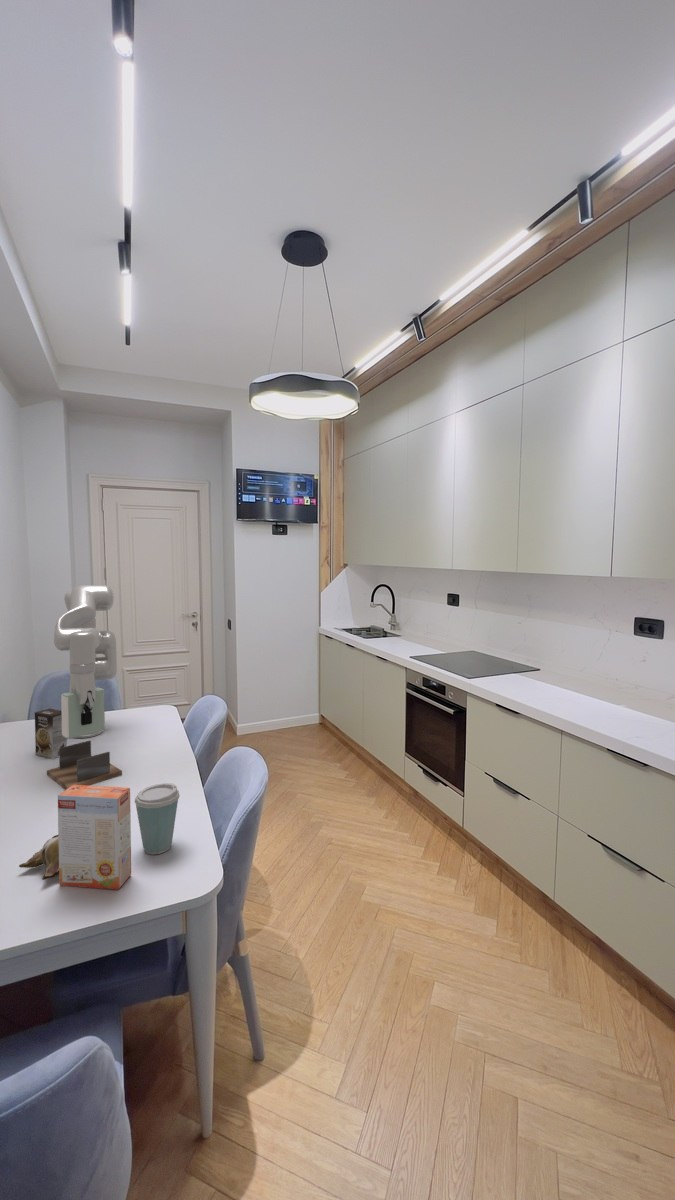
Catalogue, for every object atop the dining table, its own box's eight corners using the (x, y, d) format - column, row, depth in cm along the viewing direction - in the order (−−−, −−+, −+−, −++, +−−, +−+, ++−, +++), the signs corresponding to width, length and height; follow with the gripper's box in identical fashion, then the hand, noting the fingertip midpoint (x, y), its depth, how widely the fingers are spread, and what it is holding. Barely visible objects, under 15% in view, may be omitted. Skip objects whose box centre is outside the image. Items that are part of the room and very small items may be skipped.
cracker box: (132, 874, 114) (131, 786, 113) (118, 891, 108) (117, 798, 107) (75, 869, 116) (73, 782, 114) (58, 886, 110) (56, 794, 108)
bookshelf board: (46, 774, 166) (46, 749, 165) (98, 760, 179) (98, 737, 178) (68, 791, 154) (67, 765, 154) (121, 775, 167) (121, 750, 166)
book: (62, 735, 162) (61, 693, 161) (99, 727, 171) (99, 687, 170) (66, 738, 159) (66, 696, 159) (104, 730, 169) (104, 689, 168)
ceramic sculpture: (103, 821, 121) (42, 855, 108) (106, 854, 122) (45, 892, 109) (76, 810, 126) (14, 841, 113) (79, 842, 127) (18, 877, 114)
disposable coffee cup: (135, 863, 118) (134, 802, 117) (134, 840, 128) (133, 784, 127) (181, 854, 122) (181, 795, 121) (177, 832, 132) (177, 777, 131)
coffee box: (34, 755, 182) (33, 712, 181) (50, 749, 188) (49, 707, 187) (52, 759, 179) (51, 715, 178) (68, 753, 185) (67, 710, 184)
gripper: (60, 666, 167) (61, 719, 168) (81, 674, 156) (82, 731, 157) (84, 663, 172) (84, 715, 173) (105, 670, 161) (106, 725, 162)
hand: (83, 722), depth 165 cm, fingers closed on book, 4 cm apart
